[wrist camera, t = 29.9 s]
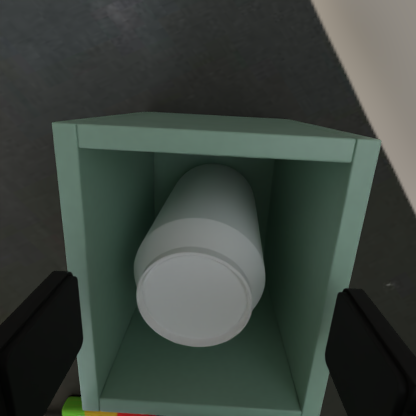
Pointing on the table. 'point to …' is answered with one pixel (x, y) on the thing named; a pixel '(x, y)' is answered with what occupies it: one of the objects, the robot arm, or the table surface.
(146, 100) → the table surface
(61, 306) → the robot arm
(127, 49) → the table surface
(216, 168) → the beverage can
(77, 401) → the popsicle
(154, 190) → the pale green hollow box
